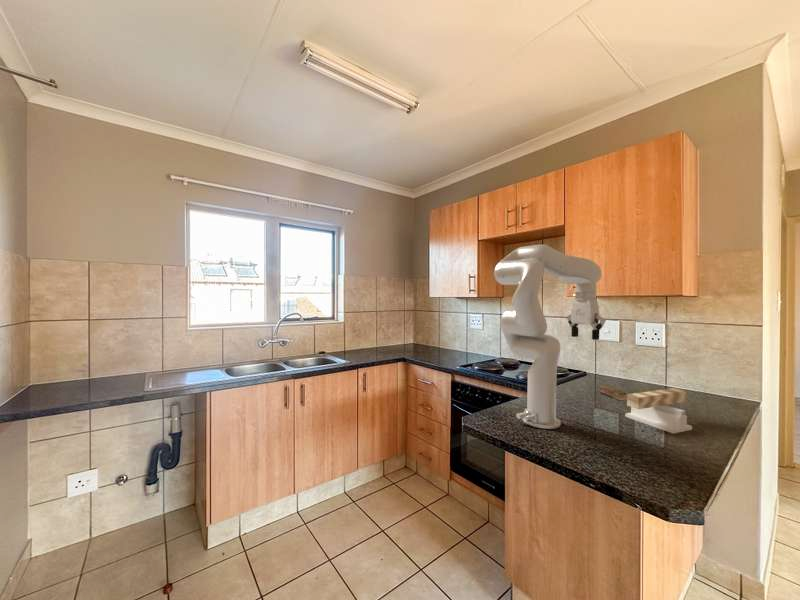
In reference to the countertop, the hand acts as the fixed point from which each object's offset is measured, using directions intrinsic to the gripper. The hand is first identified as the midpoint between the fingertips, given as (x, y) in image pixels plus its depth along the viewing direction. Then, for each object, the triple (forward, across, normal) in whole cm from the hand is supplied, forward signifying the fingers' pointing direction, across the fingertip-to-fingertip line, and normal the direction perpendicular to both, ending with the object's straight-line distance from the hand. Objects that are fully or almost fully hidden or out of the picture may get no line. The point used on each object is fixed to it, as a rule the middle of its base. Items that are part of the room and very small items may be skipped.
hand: (584, 338), depth 135 cm
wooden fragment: (+29, -10, +30) cm, 43 cm away
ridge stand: (+28, +22, +10) cm, 37 cm away
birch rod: (+21, +22, +10) cm, 32 cm away
